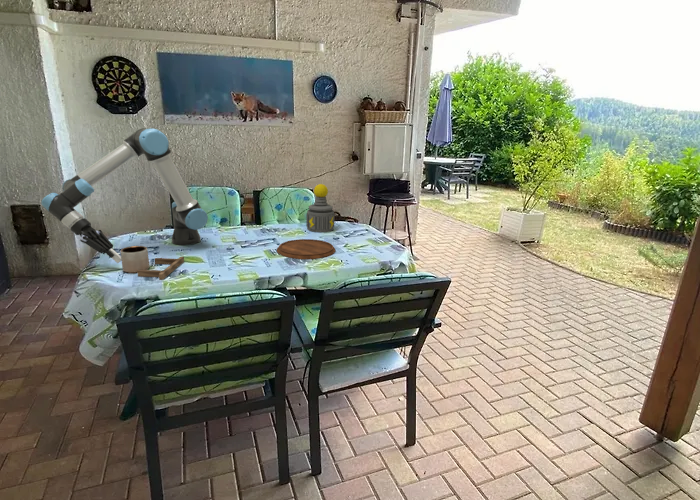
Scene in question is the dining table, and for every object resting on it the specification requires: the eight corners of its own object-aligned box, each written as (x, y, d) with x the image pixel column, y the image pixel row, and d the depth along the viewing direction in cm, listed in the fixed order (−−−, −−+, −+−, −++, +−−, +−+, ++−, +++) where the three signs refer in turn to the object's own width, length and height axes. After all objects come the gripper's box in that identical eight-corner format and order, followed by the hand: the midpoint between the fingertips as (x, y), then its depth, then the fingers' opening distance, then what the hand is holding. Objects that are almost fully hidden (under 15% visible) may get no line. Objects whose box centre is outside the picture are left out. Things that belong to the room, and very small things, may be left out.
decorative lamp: (323, 234, 252) (324, 187, 244) (300, 229, 262) (300, 183, 253) (340, 228, 268) (341, 184, 259) (317, 224, 277) (318, 181, 268)
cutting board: (303, 239, 240) (303, 235, 239) (346, 250, 223) (347, 245, 222) (264, 251, 215) (264, 247, 214) (309, 264, 198) (309, 259, 197)
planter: (131, 275, 174) (129, 254, 171) (117, 270, 180) (114, 249, 177) (154, 268, 183) (152, 248, 180) (140, 263, 188) (138, 244, 186)
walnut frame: (159, 261, 193) (158, 256, 192) (184, 261, 193) (183, 256, 193) (134, 278, 170) (133, 273, 169) (162, 279, 170) (162, 274, 170)
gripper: (81, 225, 182) (123, 261, 187) (61, 232, 169) (107, 271, 174) (91, 214, 180) (133, 251, 185) (72, 221, 168) (117, 259, 173)
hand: (120, 260), depth 180 cm, fingers closed
